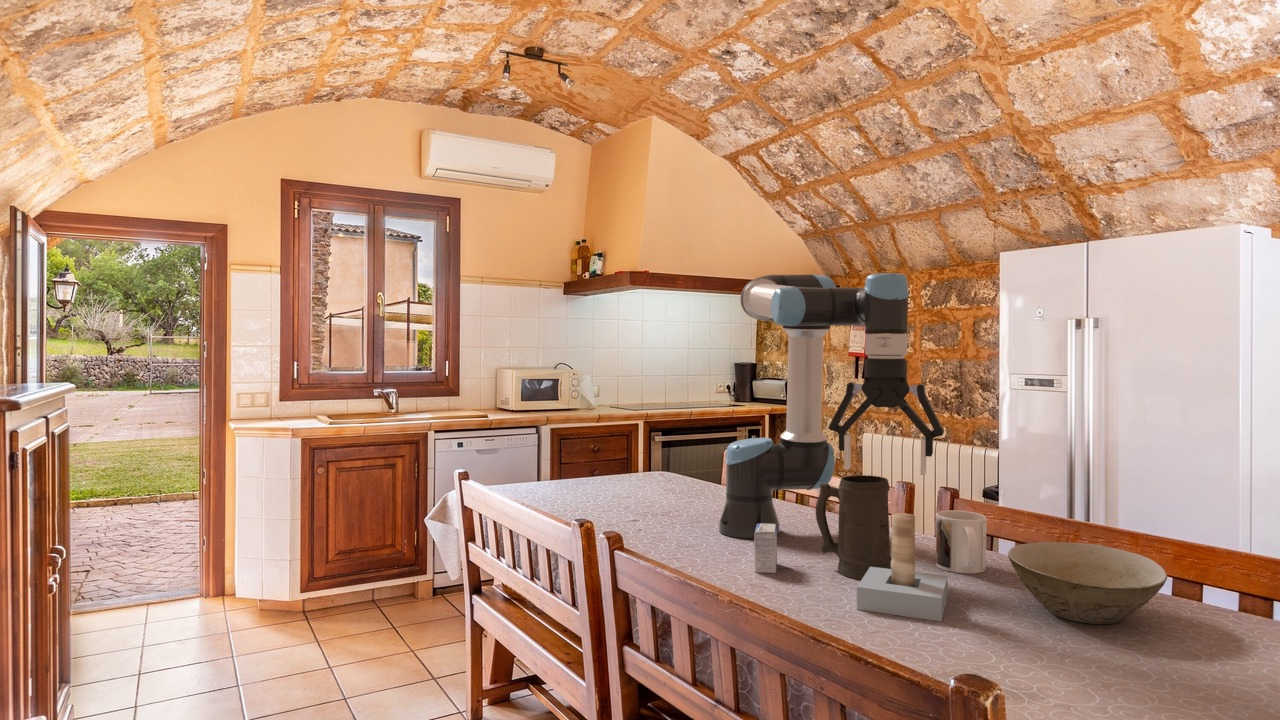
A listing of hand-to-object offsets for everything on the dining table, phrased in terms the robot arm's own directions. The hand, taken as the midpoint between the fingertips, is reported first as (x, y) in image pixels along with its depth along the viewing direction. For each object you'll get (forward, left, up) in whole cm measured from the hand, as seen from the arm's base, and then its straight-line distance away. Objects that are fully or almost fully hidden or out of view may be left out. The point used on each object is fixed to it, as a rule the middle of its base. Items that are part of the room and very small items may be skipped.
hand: (884, 471), depth 143 cm
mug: (-26, +12, -24) cm, 37 cm away
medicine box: (-9, -25, -24) cm, 36 cm away
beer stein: (-14, -8, -24) cm, 29 cm away
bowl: (-5, +33, -24) cm, 41 cm away
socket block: (+2, +4, -23) cm, 24 cm away
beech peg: (+2, +4, -23) cm, 24 cm away
